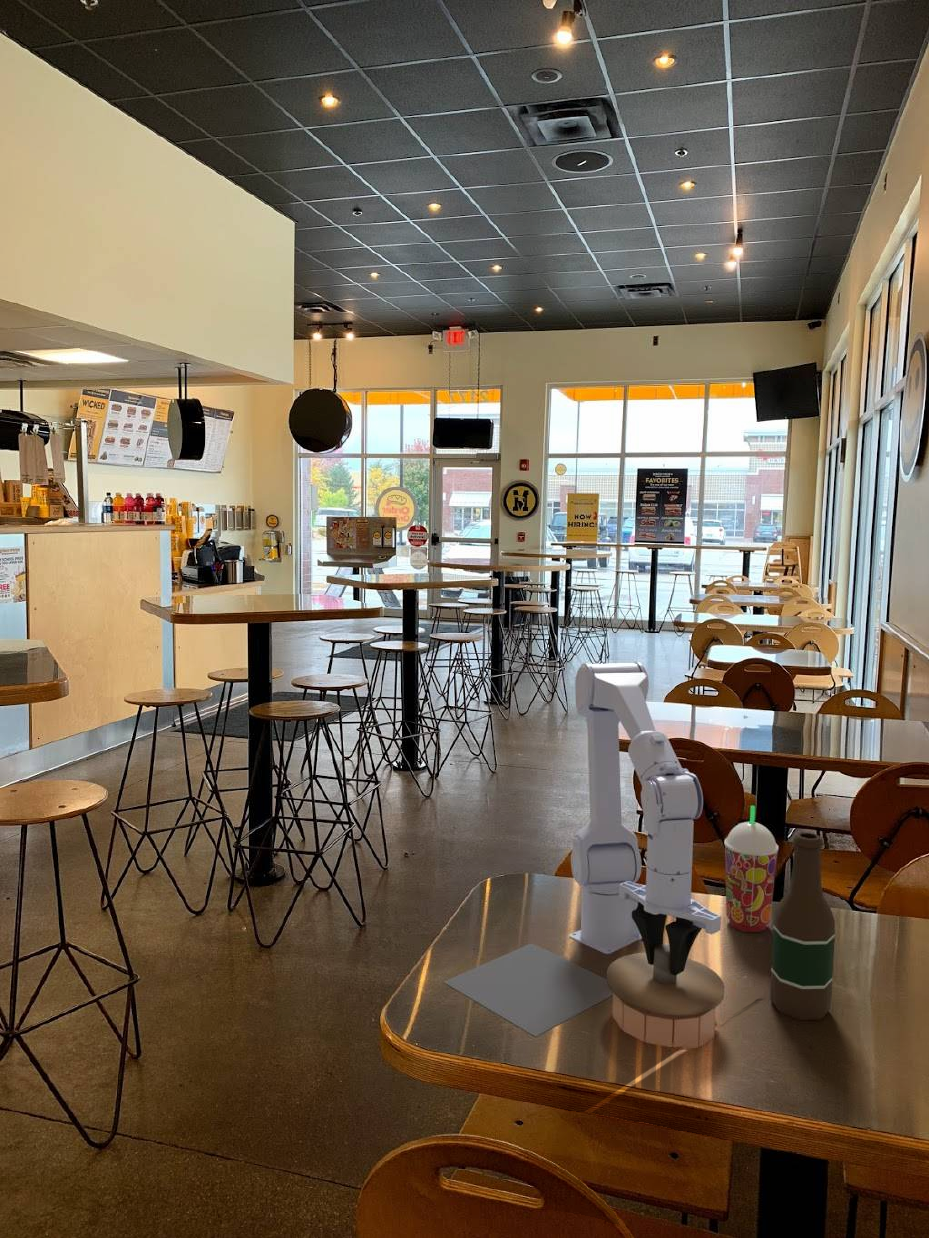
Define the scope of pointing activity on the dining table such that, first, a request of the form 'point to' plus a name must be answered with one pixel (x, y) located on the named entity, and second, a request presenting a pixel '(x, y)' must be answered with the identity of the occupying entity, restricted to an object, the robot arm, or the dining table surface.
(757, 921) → the smoothie
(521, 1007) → the mat
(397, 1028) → the dining table surface
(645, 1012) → the bowl
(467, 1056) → the dining table surface
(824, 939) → the beer bottle
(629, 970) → the lid
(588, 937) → the robot arm
